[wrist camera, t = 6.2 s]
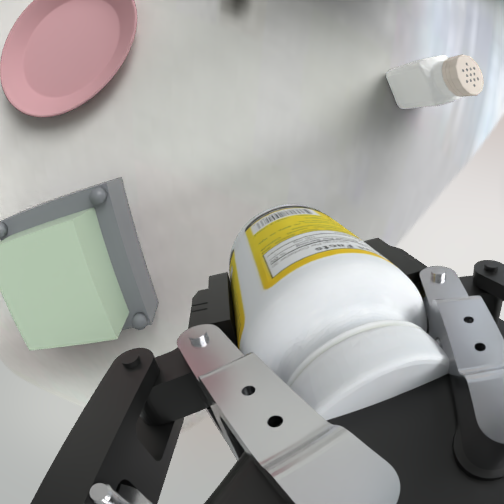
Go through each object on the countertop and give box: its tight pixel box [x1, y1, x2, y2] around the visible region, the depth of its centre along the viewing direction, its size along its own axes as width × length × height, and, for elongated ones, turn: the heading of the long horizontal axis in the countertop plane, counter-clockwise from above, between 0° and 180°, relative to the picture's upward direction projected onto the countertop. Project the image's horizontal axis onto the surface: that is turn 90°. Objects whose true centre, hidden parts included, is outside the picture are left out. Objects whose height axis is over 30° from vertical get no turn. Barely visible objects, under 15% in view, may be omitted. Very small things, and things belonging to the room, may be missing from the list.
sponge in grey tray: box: [0, 177, 159, 350], centre depth 23 cm, size 12×12×8 cm
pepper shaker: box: [386, 55, 484, 109], centre depth 20 cm, size 4×4×10 cm
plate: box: [0, 0, 137, 117], centre depth 19 cm, size 14×14×2 cm
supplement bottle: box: [229, 204, 450, 420], centre depth 10 cm, size 5×5×10 cm
